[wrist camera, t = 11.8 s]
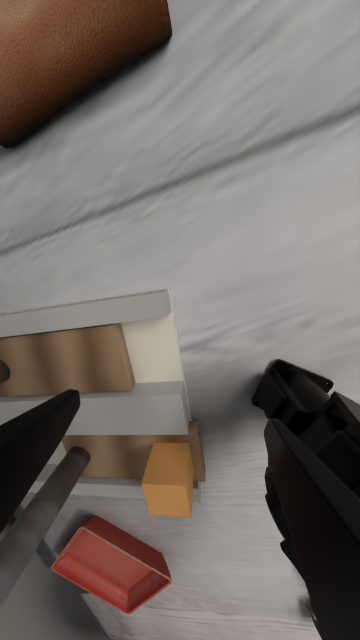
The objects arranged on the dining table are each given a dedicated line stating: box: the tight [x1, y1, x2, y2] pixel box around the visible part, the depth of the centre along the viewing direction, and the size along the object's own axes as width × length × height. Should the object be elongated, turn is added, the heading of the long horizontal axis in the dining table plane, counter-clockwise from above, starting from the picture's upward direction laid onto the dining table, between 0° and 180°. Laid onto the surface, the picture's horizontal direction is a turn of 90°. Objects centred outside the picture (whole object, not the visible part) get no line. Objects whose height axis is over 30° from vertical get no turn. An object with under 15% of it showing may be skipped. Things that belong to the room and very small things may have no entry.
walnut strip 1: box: [0, 323, 136, 397], centre depth 17 cm, size 19×8×13 cm, turn 99°
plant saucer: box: [51, 516, 172, 614], centre depth 34 cm, size 18×18×3 cm
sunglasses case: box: [0, 0, 172, 148], centre depth 14 cm, size 18×7×7 cm
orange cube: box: [141, 443, 194, 518], centre depth 20 cm, size 4×4×4 cm
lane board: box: [0, 289, 201, 502], centre depth 24 cm, size 28×27×3 cm
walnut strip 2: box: [0, 421, 205, 608], centre depth 19 cm, size 19×8×13 cm, turn 99°
